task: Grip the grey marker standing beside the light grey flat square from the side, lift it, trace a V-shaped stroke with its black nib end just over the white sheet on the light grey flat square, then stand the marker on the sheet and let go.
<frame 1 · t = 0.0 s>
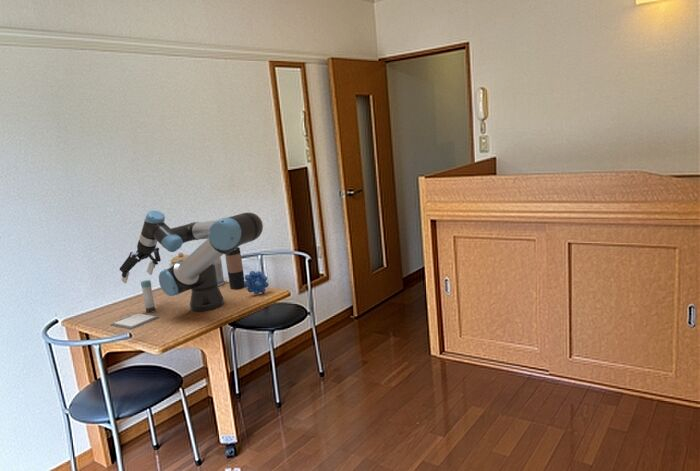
hand: (136, 277, 241), 15 cm above the table, tool tilted 35°, fingers open, 13 cm apart
light grey flat square: (135, 321, 228), on the table
travel mug: (237, 287, 265), on the table
supplement tub: (215, 285, 273), on the table
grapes: (258, 295, 248), on the table
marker: (150, 310, 240), on the table
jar: (185, 285, 280), on the table
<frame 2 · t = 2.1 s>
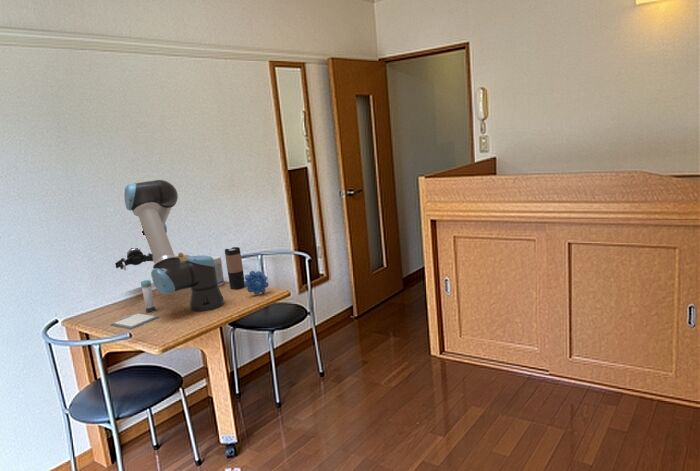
hand: (140, 264, 245), 20 cm above the table, tool horizontal, fingers open, 13 cm apart
nothing on the table moved.
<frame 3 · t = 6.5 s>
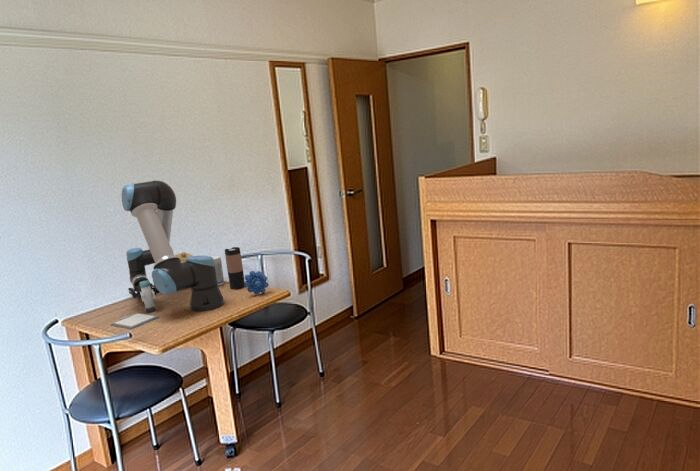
hand: (148, 297, 235), 8 cm above the table, tool horizontal, fingers closed on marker, 4 cm apart
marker: (150, 310, 240), on the table, touching gripper
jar: (183, 283, 277), point 1 cm above the table, touching arm
everything else where it was.
when the fingers open (9 cm above the table, at t = 14.5 s): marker stays where it is, resting on light grey flat square.
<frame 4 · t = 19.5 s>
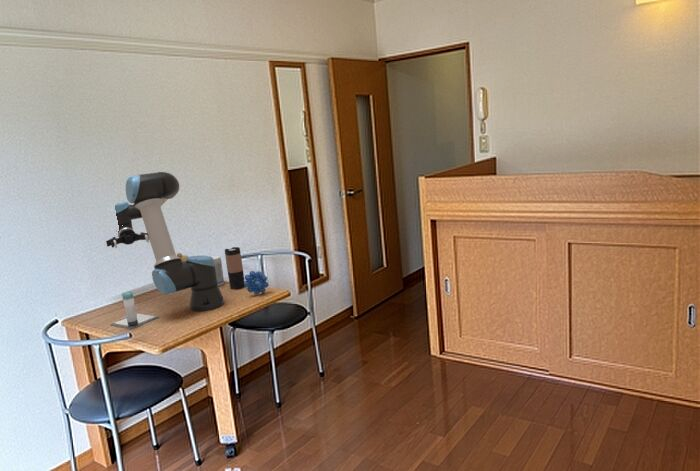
hand: (132, 242, 237), 32 cm above the table, tool horizontal, fingers open, 13 cm apart
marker: (133, 324, 221), point 1 cm above the table, touching light grey flat square
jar: (183, 285, 278), on the table
everything else where it was.
at the end: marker inside the target area on the light grey flat square (6.7 cm from its centre), point 0.8 cm above the light grey flat square's base; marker tilted 0°; the gripper is holding nothing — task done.
